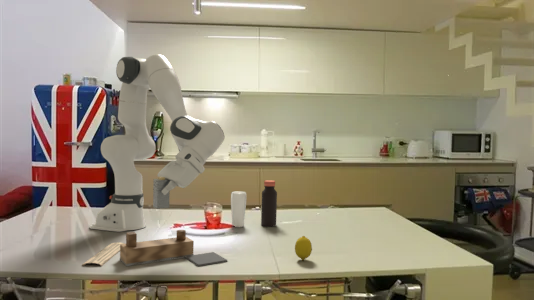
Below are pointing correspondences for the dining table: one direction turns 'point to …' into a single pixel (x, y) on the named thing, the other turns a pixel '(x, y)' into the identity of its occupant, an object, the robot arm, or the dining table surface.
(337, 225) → the dining table surface
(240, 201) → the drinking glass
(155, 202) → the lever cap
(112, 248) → the newspaper
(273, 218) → the bottle
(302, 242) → the lemon
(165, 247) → the plane body
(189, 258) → the pad
